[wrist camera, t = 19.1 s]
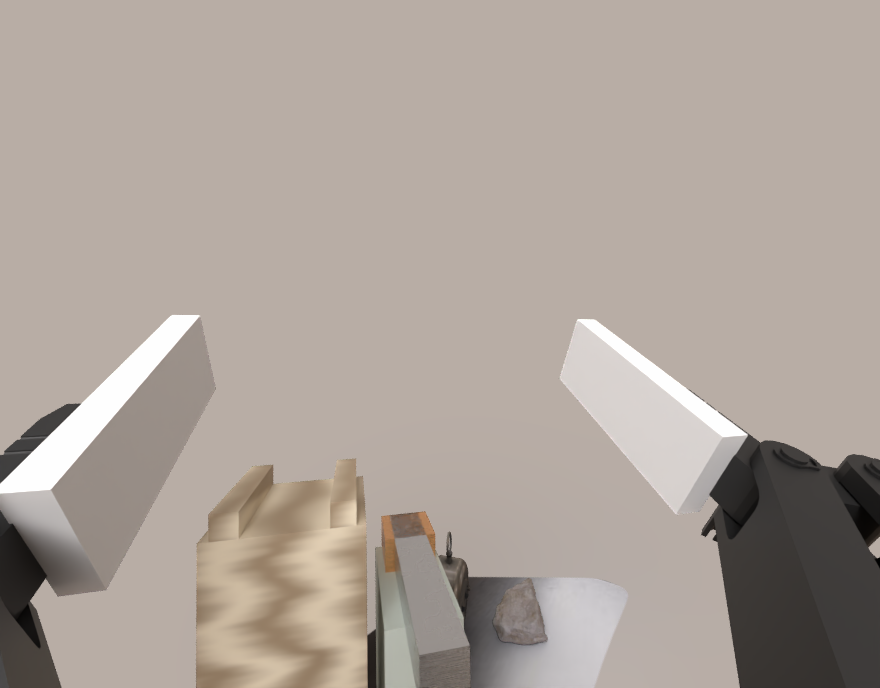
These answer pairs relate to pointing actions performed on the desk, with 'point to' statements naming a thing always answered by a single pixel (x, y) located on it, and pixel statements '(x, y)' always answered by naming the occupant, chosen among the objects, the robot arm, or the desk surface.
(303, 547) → the stand
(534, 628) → the stone
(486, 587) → the desk surface
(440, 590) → the grey long bar
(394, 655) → the pale green block
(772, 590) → the robot arm
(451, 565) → the alarm clock
